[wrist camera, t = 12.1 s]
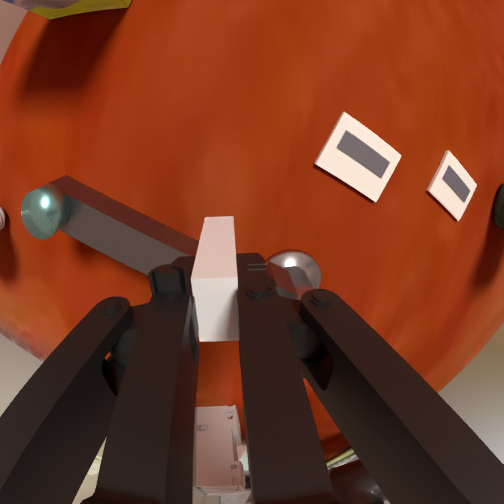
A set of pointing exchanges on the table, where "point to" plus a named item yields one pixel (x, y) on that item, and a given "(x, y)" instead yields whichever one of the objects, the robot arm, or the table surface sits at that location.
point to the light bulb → (2, 218)
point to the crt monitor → (227, 496)
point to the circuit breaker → (217, 452)
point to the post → (298, 270)
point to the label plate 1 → (358, 157)
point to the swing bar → (116, 229)
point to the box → (68, 6)
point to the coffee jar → (499, 208)
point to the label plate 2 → (452, 185)
